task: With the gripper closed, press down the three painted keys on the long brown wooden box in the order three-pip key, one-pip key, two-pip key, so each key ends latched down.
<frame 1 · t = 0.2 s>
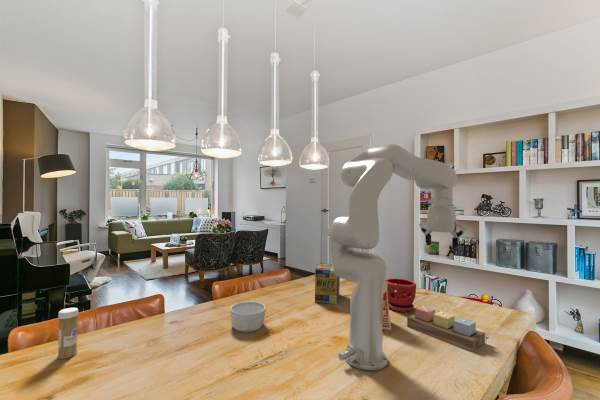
hand: (441, 246, 114), 30 cm above the table, tool pointing down, fingers open, 9 cm apart
plant pot: (400, 308, 130), on the table
tile 1pip: (464, 326, 98), point 5 cm above the table, slide at 0.0 cm
ramekin: (247, 326, 108), on the table
long brown wooden box: (443, 334, 104), on the table
protein box: (327, 298, 141), on the table
milk carton: (378, 324, 112), on the table
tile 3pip: (425, 313, 110), point 5 cm above the table, slide at 0.0 cm
tile 2pip: (443, 319, 104), point 5 cm above the table, slide at 0.0 cm
sprinkles bottle: (67, 355, 86), on the table
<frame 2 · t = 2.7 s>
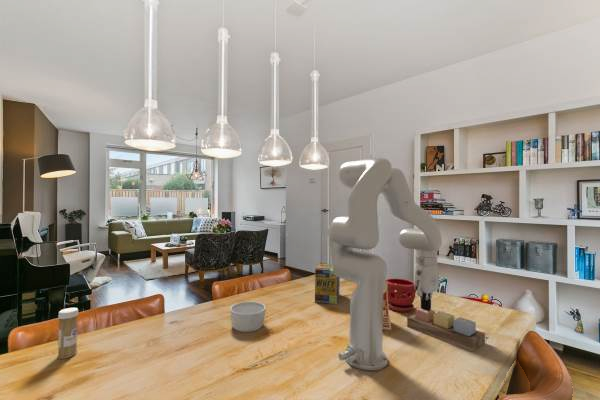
hand: (425, 308, 110), 7 cm above the table, tool pointing down, fingers closed
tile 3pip: (425, 314, 110), point 5 cm above the table, slide at 0.4 cm, touching gripper
everything else where it was.
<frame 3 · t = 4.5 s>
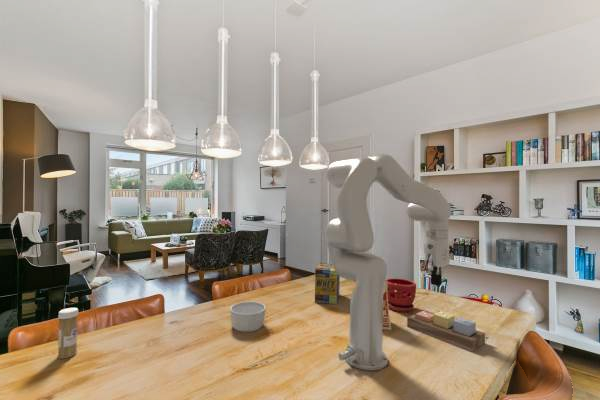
hand: (436, 284, 107), 17 cm above the table, tool pointing down, fingers closed
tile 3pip: (425, 318, 110), point 3 cm above the table, slide at 2.1 cm
everything else where it was.
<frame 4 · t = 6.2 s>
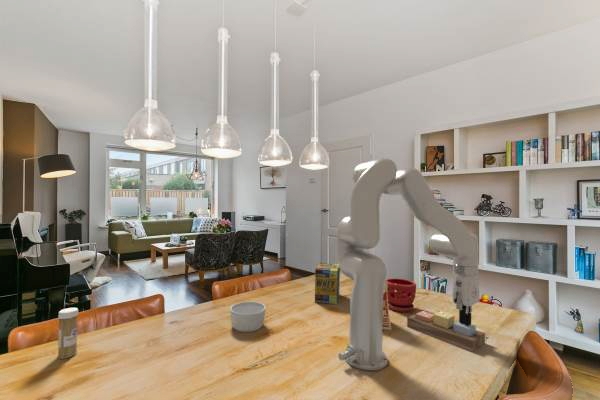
hand: (465, 323, 99), 6 cm above the table, tool pointing down, fingers closed
tile 1pip: (464, 329, 98), point 4 cm above the table, slide at 1.0 cm, touching gripper
everything else where it was.
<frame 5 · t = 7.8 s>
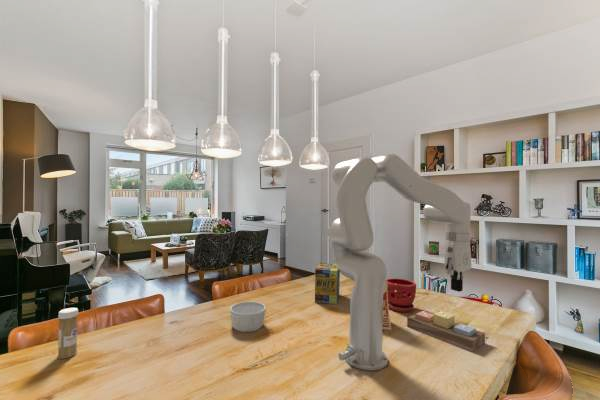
hand: (456, 290, 101), 17 cm above the table, tool pointing down, fingers closed
tile 1pip: (464, 332, 98), point 3 cm above the table, slide at 2.1 cm
everything else where it was.
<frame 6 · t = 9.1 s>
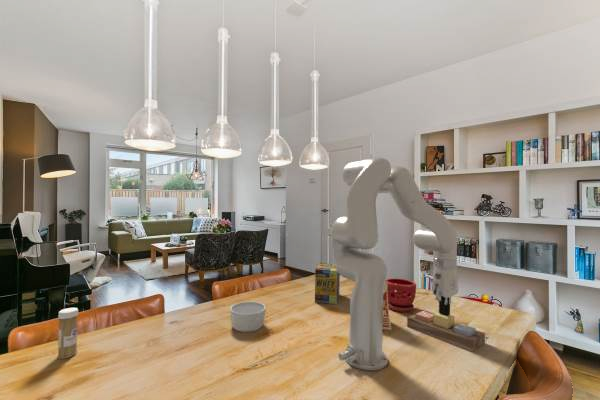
hand: (444, 314, 104), 7 cm above the table, tool pointing down, fingers closed
tile 2pip: (443, 319, 104), point 5 cm above the table, slide at 0.0 cm, touching gripper
everything else where it was.
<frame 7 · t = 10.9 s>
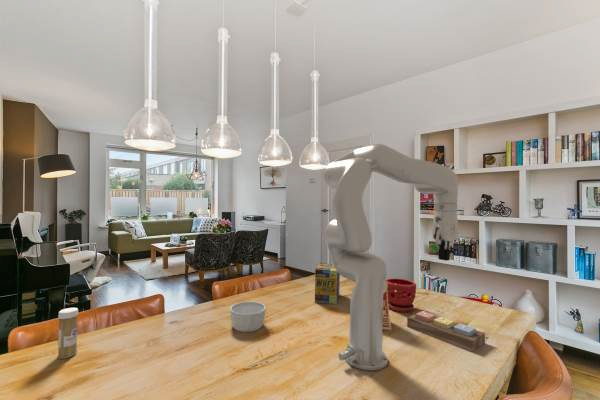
hand: (443, 259, 104), 27 cm above the table, tool pointing down, fingers closed
tile 2pip: (443, 325, 104), point 3 cm above the table, slide at 2.1 cm
everything else where it was.
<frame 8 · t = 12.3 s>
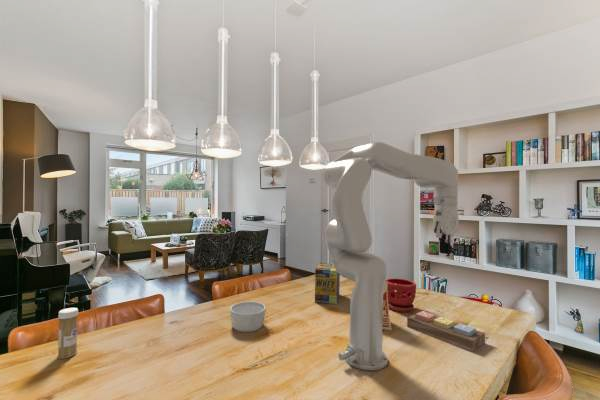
hand: (444, 253, 104), 29 cm above the table, tool pointing down, fingers closed
nothing on the table moved.
at the end: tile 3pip slide at 2.1 cm; tile 1pip slide at 2.1 cm; tile 2pip slide at 2.1 cm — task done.
